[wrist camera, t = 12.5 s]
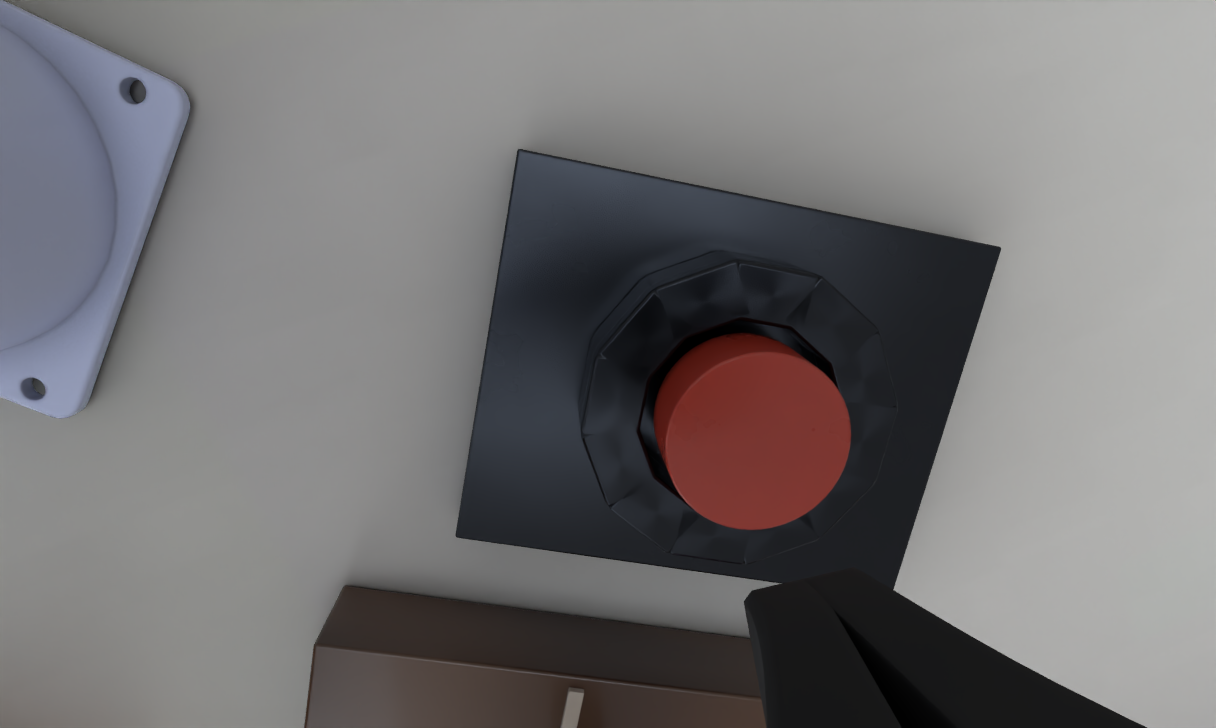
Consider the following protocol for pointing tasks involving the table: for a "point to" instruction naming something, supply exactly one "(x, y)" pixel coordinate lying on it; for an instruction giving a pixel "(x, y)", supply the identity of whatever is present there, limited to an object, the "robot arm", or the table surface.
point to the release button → (751, 431)
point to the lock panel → (519, 669)
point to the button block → (676, 323)
